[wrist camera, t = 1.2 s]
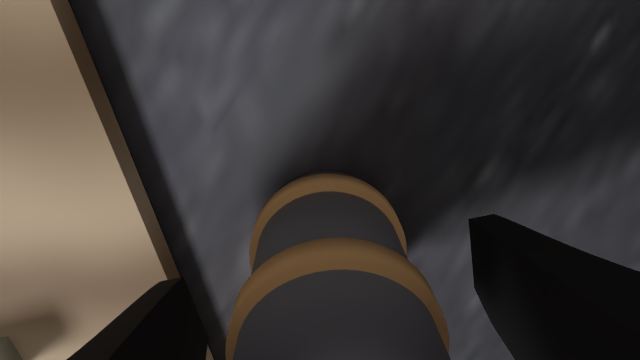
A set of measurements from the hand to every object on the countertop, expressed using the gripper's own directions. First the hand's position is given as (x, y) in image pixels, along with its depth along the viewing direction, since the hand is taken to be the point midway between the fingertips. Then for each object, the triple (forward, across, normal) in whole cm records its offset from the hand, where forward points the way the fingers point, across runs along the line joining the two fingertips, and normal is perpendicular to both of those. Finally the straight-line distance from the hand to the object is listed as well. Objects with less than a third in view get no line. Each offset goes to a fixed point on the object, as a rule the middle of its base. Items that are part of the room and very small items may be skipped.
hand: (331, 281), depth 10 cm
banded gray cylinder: (+3, 0, 0) cm, 3 cm away
